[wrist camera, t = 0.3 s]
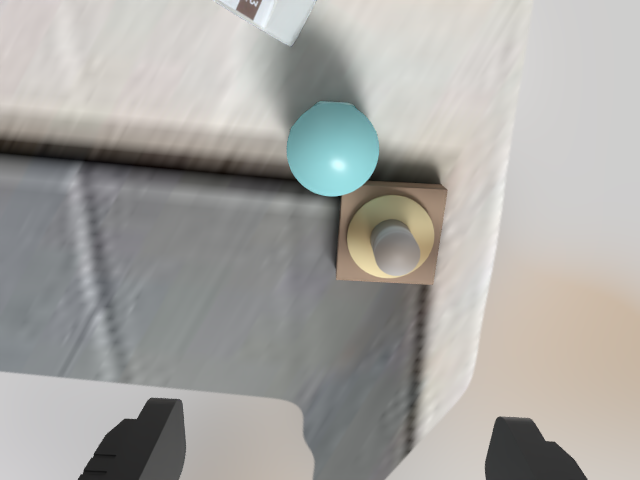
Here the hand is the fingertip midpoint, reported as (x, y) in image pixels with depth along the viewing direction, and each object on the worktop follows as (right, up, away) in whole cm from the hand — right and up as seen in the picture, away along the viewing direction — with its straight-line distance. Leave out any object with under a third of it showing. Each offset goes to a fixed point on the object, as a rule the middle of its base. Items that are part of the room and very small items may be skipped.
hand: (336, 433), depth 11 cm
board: (+5, +6, +25) cm, 26 cm away
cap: (+1, +13, +22) cm, 26 cm away
